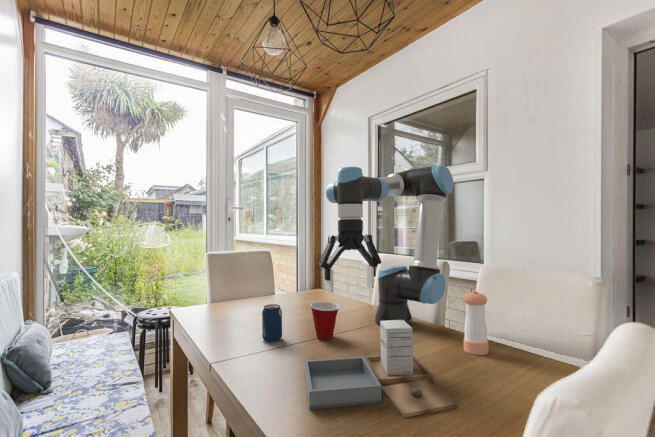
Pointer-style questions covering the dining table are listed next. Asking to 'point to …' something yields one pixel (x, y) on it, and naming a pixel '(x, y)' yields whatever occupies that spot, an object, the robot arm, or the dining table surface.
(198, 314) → the dining table surface
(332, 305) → the plastic cup
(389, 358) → the supplement box
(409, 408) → the tray lid
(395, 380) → the walnut tray
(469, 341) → the pepper shaker
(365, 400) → the gray square tray
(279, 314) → the soda can
